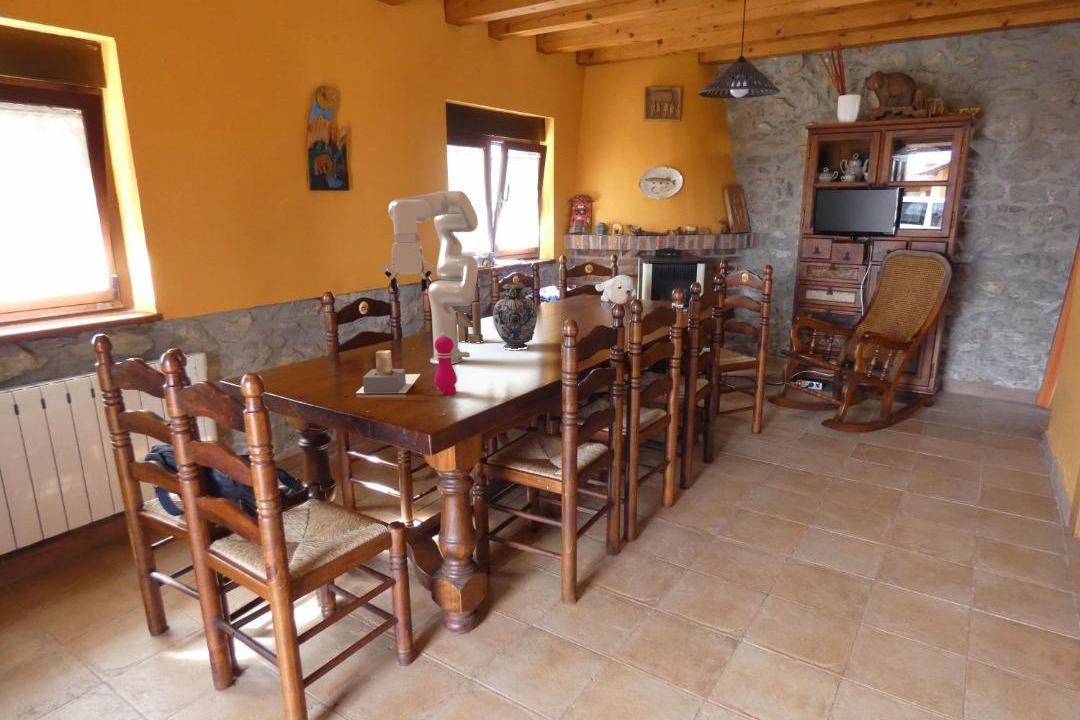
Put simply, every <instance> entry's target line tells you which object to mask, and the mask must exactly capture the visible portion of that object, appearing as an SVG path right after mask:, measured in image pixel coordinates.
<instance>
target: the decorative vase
mask: <svg viewBox="0 0 1080 720" xmlns="http://www.w3.org/2000/svg"><path fill="white" fill-rule="evenodd" d="M525 288H526V285H525V284H524V282H520V281H514V282H513V281H511V282H505V283H504V285H503V286H502V289H505V292H506V293H505V297H504V298H502V299H499V300H498V301H497V302H496V303H495V305H494V307H493V311H492V312H493V315H492V317H493V324H494V328H495V330H496V333H497V334H498V336H499V337H500V339H501V340H503V342H505V343H506V344H504V345H503V348H504V347H505V348H511V349H518V348H524V347H527V345H528V344H526V343H530V341H532V340H533V338H534V334H535V329H536V325H537V321H538V312H537V311H538V310H537V306H536V304H535V303H534V302H533V300H531V299H530V298H529V297H525V296H524V289H525Z"/></svg>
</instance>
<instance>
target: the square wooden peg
mask: <svg viewBox="0 0 1080 720" xmlns="http://www.w3.org/2000/svg"><path fill="white" fill-rule="evenodd" d="M375 363H376V365H375V366H376V369H377V375H392V369H393V363H392V351H391V350H389V349H388V350H377V351H376V352H375Z"/></svg>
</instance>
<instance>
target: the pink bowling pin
mask: <svg viewBox="0 0 1080 720" xmlns="http://www.w3.org/2000/svg"><path fill="white" fill-rule="evenodd" d="M446 336H447V335H446V333H445V332H442V333H441V337H440V338H438V339H437V340H436V341H435V349H436V350H437V351H438V352H437V357H438V364H437V369H436V371H435V374H434V380H433V381H434V383H435V385H436V386H437V387H436V390H437V391H439V392H443V393H442V394H441V396H452V395H454V394H456V392H457V387H456V383H457V382H458V379H457V378H458V376H457V374H456V371H455V369H454V367H453V364H452V363H451V357H452V356H453V355H452V352H451V350H452V349H453V347H454V344H453V341H452V339H450V338H448V337H446Z"/></svg>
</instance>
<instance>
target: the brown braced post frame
mask: <svg viewBox="0 0 1080 720" xmlns="http://www.w3.org/2000/svg"><path fill="white" fill-rule="evenodd" d="M471 306H472V309H471V310H472V321H471V319H470V318H469V317H468V316H467V315H466V314H465V313H464V312H463V310H461V309H460V310H457V312H456V313H457V314H456V316H457V334H458V342H459V341H467V340H468V341H470V342H481V341H483V342H484V337H483V336H484V335H483V334H482V320H481V319H482V318H481V316H482V315H481V314H482V313H481V302H472V303H471ZM469 328H472V333H469Z"/></svg>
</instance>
